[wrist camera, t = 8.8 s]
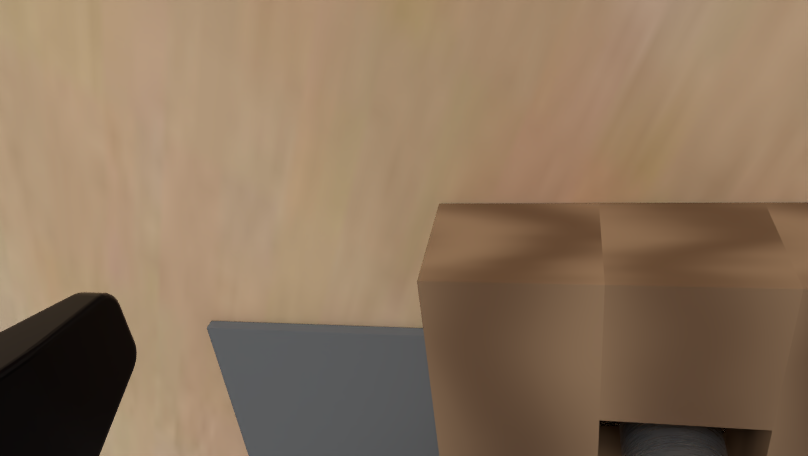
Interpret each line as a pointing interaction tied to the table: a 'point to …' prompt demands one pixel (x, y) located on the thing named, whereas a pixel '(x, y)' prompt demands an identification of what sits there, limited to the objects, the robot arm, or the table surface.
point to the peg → (670, 440)
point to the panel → (327, 388)
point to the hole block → (616, 325)
